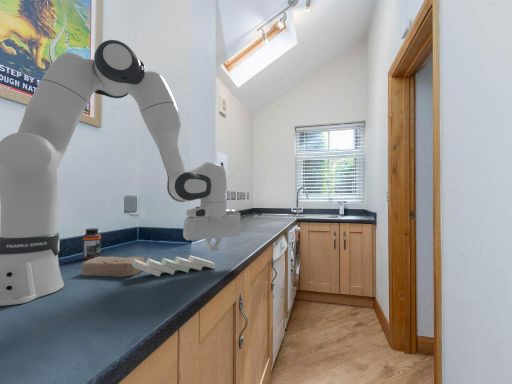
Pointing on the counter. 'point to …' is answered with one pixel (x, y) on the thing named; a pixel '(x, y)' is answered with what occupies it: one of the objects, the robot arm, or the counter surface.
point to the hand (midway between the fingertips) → (213, 251)
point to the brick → (111, 266)
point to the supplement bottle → (91, 244)
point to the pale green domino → (174, 265)
